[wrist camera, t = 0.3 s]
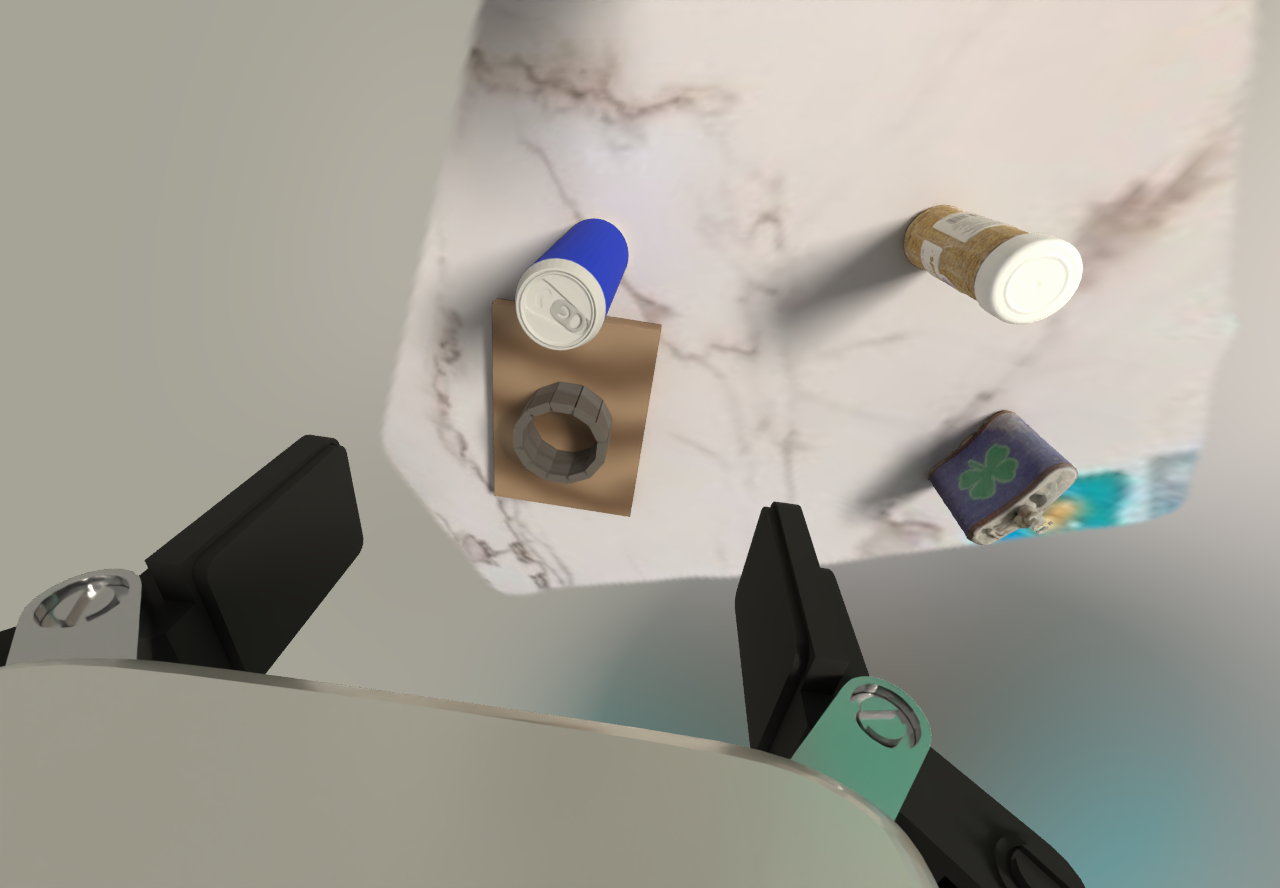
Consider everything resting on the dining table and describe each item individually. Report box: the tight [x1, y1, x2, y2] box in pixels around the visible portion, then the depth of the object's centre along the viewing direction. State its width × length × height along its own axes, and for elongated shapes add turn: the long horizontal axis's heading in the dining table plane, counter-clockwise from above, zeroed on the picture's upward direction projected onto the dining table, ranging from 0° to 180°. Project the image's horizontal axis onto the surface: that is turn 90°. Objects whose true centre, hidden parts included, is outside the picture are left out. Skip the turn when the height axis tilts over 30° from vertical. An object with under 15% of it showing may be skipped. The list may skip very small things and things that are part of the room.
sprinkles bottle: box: [904, 205, 1083, 324], centre depth 33 cm, size 5×5×13 cm
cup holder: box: [492, 298, 662, 517], centre depth 47 cm, size 20×14×6 cm
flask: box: [928, 410, 1078, 545], centre depth 43 cm, size 9×3×11 cm, turn 149°
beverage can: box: [515, 219, 628, 350], centre depth 35 cm, size 5×5×15 cm
